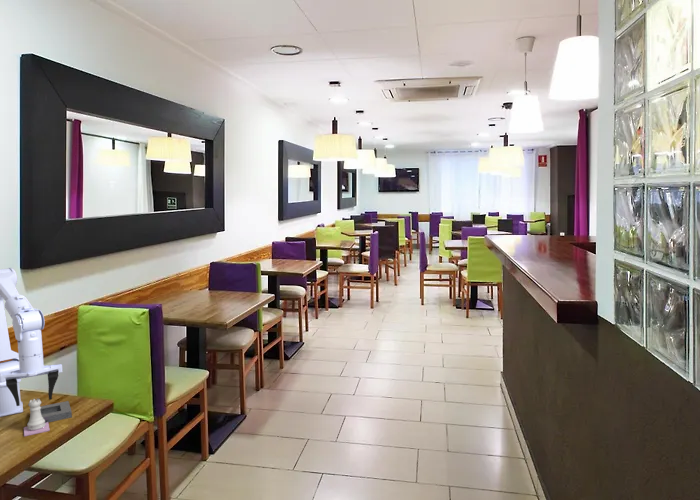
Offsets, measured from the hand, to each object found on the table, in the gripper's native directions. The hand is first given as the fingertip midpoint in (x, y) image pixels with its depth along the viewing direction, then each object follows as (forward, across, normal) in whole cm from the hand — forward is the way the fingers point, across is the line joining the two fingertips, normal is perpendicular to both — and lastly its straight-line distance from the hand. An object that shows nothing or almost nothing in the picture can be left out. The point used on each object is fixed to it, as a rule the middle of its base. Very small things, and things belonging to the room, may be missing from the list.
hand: (34, 401), depth 143 cm
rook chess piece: (+8, 0, 0) cm, 8 cm away
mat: (+8, 0, 0) cm, 8 cm away
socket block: (+8, +4, +9) cm, 13 cm away
